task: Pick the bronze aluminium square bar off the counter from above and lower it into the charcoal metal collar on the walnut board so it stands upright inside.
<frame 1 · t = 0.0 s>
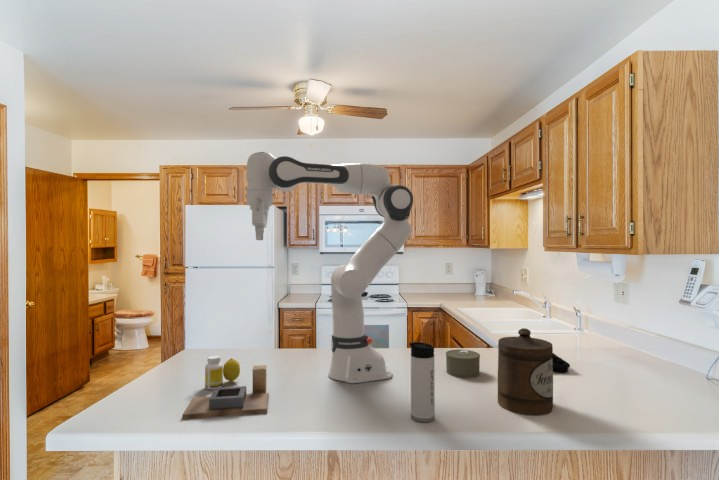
hand: (259, 240, 140), 48 cm above the countertop, tool pointing down, fingers open, 8 cm apart
lemon: (231, 382, 138), on the countertop
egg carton: (538, 363, 160), on the countertop
square bar: (259, 392, 128), on the countertop
dock board: (228, 407, 117), on the countertop
travel mug: (422, 418, 109), on the countertop
wooden container: (524, 405, 118), on the countertop
can: (462, 373, 147), on the countertop
collar: (228, 397, 117), on the dock board, point 3 cm above the countertop
supplement bottle: (213, 387, 133), on the countertop
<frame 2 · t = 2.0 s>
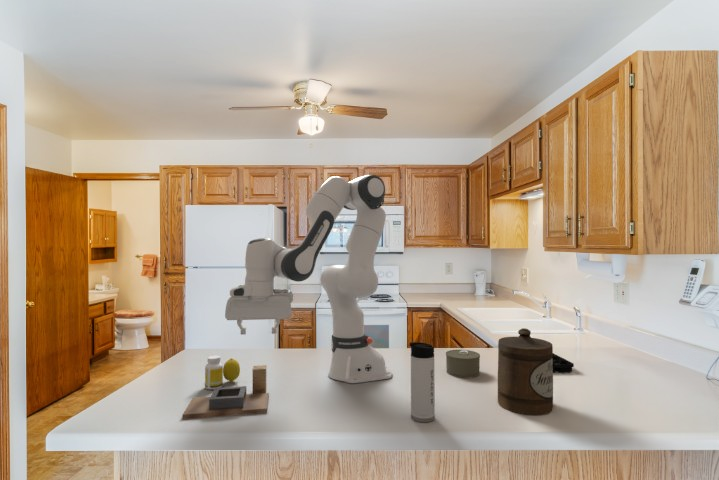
hand: (258, 333, 128), 19 cm above the countertop, tool pointing down, fingers open, 8 cm apart
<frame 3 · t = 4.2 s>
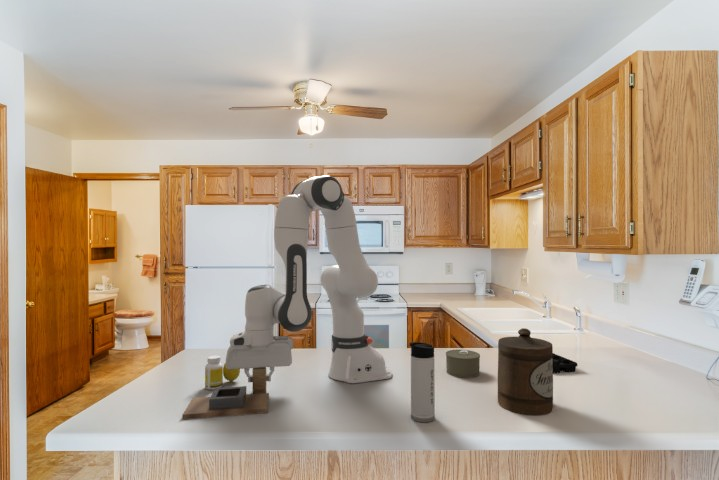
hand: (259, 381, 128), 4 cm above the countertop, tool pointing down, fingers closed on square bar, 4 cm apart
square bar: (259, 392, 128), on the countertop, touching gripper
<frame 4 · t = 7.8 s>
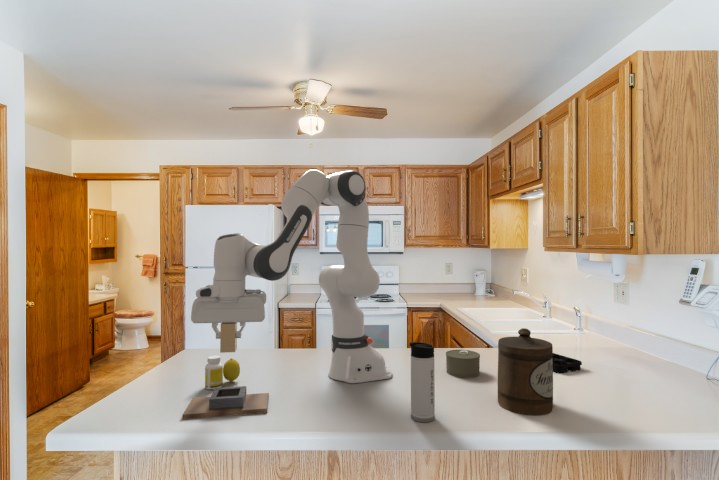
hand: (228, 338, 117), 20 cm above the countertop, tool pointing down, fingers closed on square bar, 4 cm apart
square bar: (228, 350, 117), point 16 cm above the countertop, touching gripper
when the fingers open (6 cm above the countertop, at t = 11.1 s): square bar drops 1 cm, resting on dock board.
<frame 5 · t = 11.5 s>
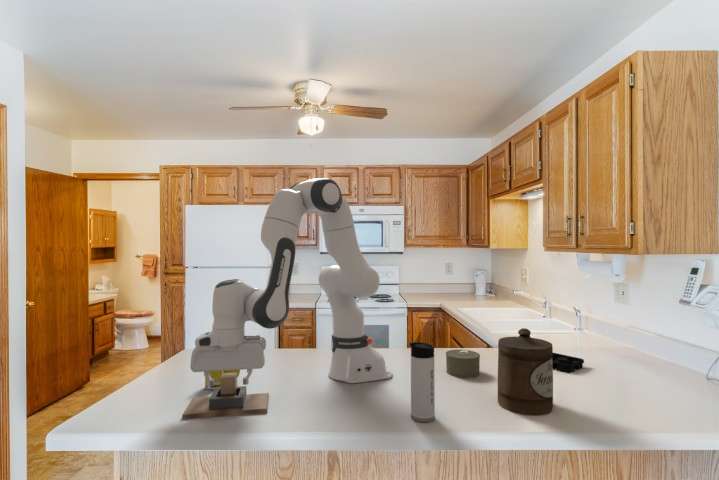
hand: (228, 385, 117), 6 cm above the countertop, tool pointing down, fingers open, 8 cm apart
square bar: (228, 402, 117), point 1 cm above the countertop, touching dock board
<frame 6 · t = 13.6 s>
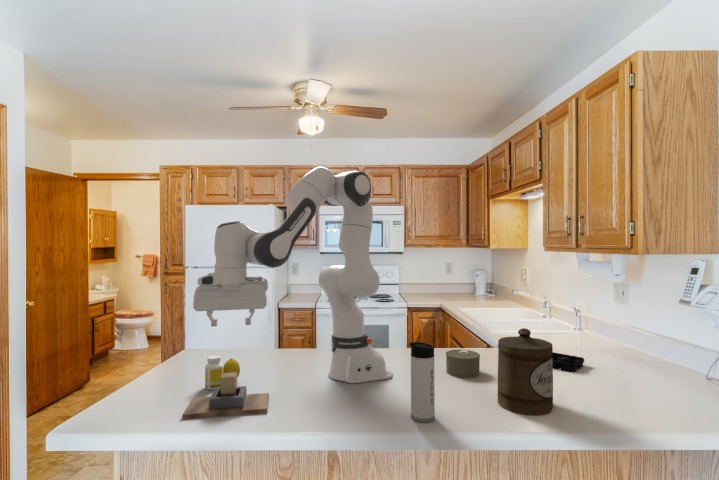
hand: (231, 325, 118), 23 cm above the countertop, tool pointing down, fingers open, 8 cm apart
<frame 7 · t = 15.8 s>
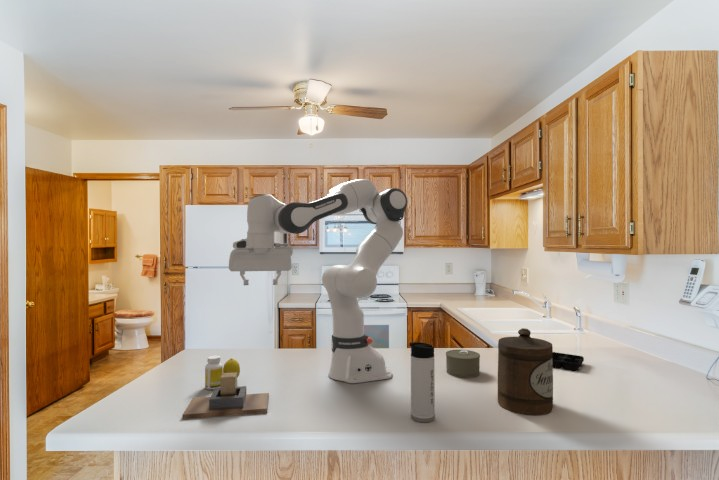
hand: (260, 284, 135), 33 cm above the countertop, tool pointing down, fingers open, 8 cm apart
at the end: square bar 0.1 cm off-centre on the dock board, point 1.2 cm above the dock board's base; square bar tilted 0°; the gripper is holding nothing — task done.
